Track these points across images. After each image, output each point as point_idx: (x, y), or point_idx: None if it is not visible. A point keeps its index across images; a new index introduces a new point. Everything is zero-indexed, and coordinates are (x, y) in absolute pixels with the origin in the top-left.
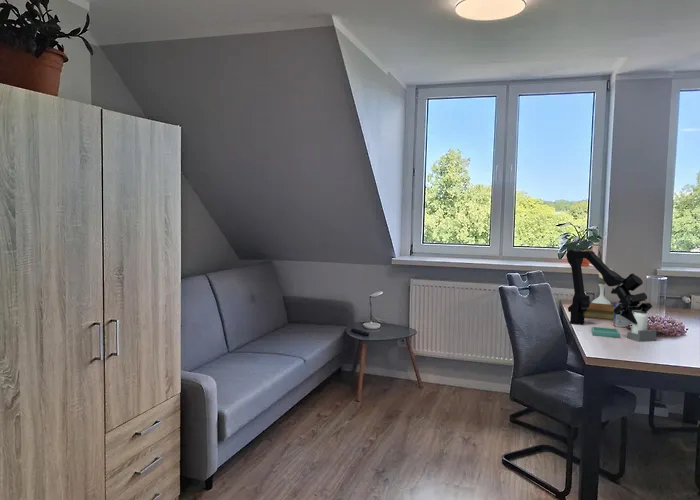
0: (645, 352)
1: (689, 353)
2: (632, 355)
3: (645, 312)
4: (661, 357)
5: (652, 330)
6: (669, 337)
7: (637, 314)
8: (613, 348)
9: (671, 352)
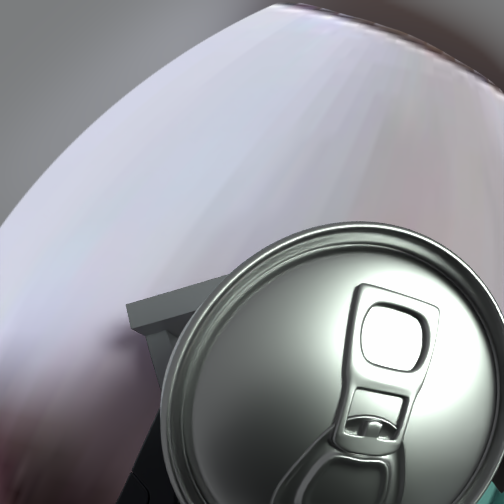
0: (370, 85)
1: (172, 74)
2: (419, 73)
3: (183, 454)
4: (330, 46)
5: (184, 288)
6: (9, 409)
7: (460, 297)
8: (474, 143)
9: (249, 78)
